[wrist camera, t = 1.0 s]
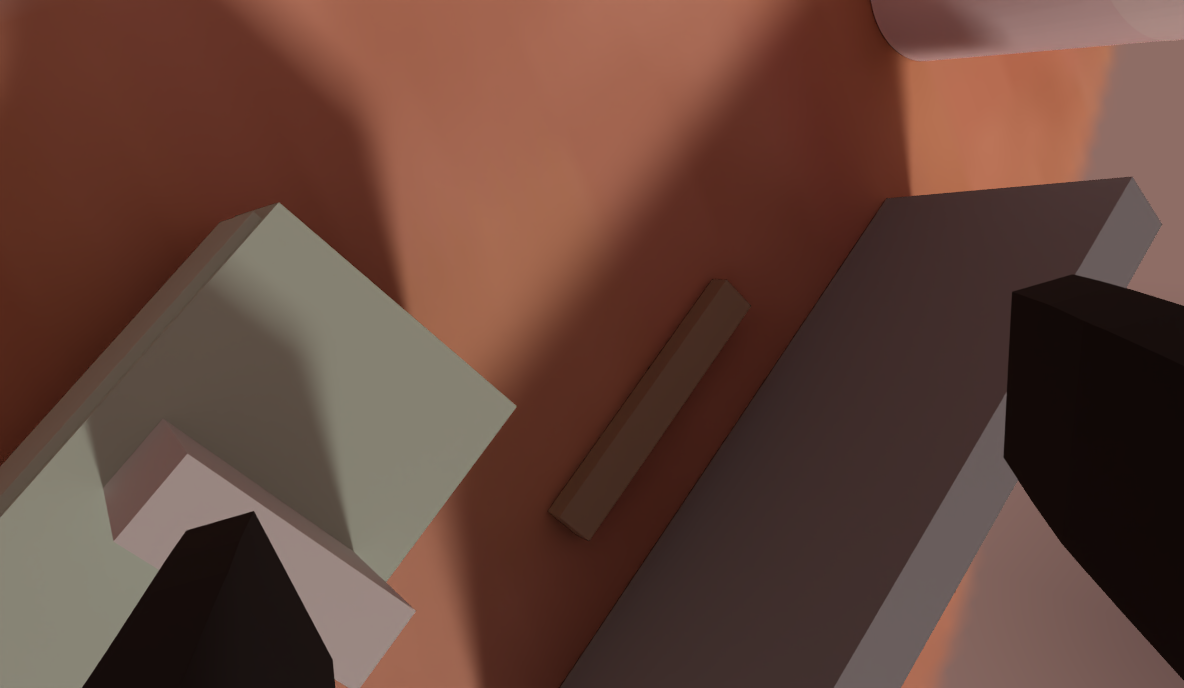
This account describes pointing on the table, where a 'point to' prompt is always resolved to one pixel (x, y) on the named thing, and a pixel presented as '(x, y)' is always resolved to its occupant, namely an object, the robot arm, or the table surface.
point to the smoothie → (1021, 25)
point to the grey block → (239, 451)
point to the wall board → (844, 450)
